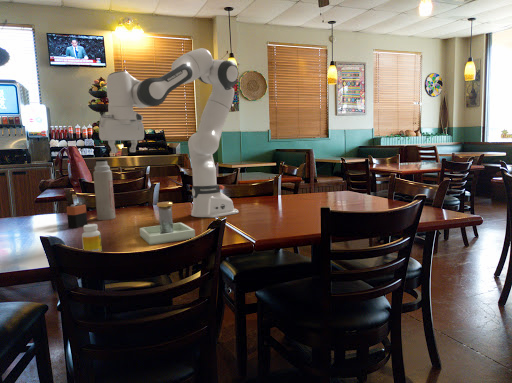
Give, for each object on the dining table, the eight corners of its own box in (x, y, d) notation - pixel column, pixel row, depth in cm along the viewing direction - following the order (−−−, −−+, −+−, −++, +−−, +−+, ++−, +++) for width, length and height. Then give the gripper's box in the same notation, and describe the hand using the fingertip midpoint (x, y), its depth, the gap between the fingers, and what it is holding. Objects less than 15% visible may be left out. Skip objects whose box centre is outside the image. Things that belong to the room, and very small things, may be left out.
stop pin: (172, 232, 143) (170, 201, 141) (176, 235, 138) (174, 203, 136) (157, 234, 140) (155, 202, 138) (161, 237, 135) (159, 204, 134)
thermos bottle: (118, 216, 183) (114, 158, 179) (109, 220, 175) (104, 159, 172) (103, 216, 185) (98, 159, 181) (93, 220, 177) (88, 159, 173)
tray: (181, 229, 150) (181, 222, 149) (195, 238, 136) (194, 229, 135) (140, 235, 142) (139, 227, 142) (150, 245, 128) (149, 236, 128)
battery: (88, 225, 166) (86, 202, 164) (75, 228, 159) (73, 205, 158) (80, 224, 167) (78, 202, 166) (67, 228, 161) (65, 204, 160)
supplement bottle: (82, 255, 119) (79, 225, 118) (100, 251, 122) (97, 222, 121) (85, 259, 115) (82, 227, 113) (104, 255, 118) (101, 225, 116)
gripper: (106, 113, 132) (109, 153, 134) (145, 116, 151) (148, 151, 152) (93, 114, 135) (96, 153, 137) (133, 117, 153) (136, 151, 155)
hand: (124, 152), depth 145 cm, fingers open, 8 cm apart
